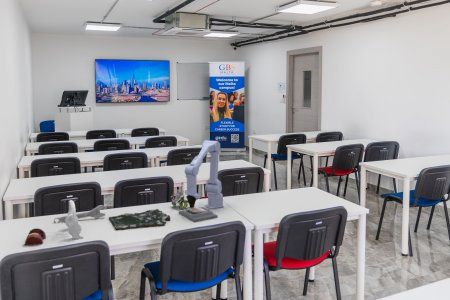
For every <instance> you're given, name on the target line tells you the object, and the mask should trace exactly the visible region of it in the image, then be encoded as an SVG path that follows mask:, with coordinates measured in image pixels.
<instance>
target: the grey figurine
mask: <svg viewBox="0 0 450 300" xmlns="http://www.w3.org/2000/svg"><path fill="white" fill-rule="evenodd" d="M76 210H77V209H76V205H75V201H74V200H71V199H70V200H68V212H67V215H66V216H67V217H66V219H65V222H64V223H65V225H66V227H67V232H68V234H69V235H70V236H71V237H72V239H77V240H82V239H84V236H82V235H80V234H81V232H82V225H81V223H80V222H79V219H78V218H77V216H76V214H77V212H76Z"/></svg>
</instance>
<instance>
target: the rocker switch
mask: <svg viewBox="0 0 450 300" xmlns="http://www.w3.org/2000/svg"><path fill="white" fill-rule="evenodd" d="M187 210H190V211H192V212H198V213H200V212H202V213H203V212H208V211H207V210H205V209H203V208H199V207H194V208H190V206H188V207H187Z"/></svg>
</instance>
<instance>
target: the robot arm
mask: <svg viewBox="0 0 450 300" xmlns="http://www.w3.org/2000/svg"><path fill="white" fill-rule="evenodd" d="M220 153H221V143H220V142H219V140H207V139H205V140H204V141H203V142H202V144H201V149H200V151H199V154H197V155H196V156H194V158H193V159H192V161H191V162H190V164H188V165H186V167H185V169H184V173H185V174H184V175H185V177H186V189H185V190H184V194H185V195H186V196H185V197H186V200H188V202H189V203H188V207H190V208H195V204H196V201H197V200H198V199H200V195H199V193H198V192H197V187H198V186H197V176H198V174H199V171H200V167H201V166H202V164H203V162H204V161H203V159H204V158H205V157H206V155H208V154H210V162H209V165H210V167H209V179H207V180H206V181H205V186H204V190H205V192H206V194H207V204H205V208H208V209H210V210H211V209H212V210H213V209H217V208H223V207H224V195H223V193H222V190H223V185H222V182H221V180H220V179H218V176H219V159H220V158H219V154H220Z"/></svg>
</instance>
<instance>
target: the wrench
mask: <svg viewBox="0 0 450 300" xmlns="http://www.w3.org/2000/svg"><path fill="white" fill-rule="evenodd" d="M102 209H103V210H107V206H105V205H102V204H100V205H97V206H96V207H95V208H92V209H91V210H89V211H85V212H80V213H76V216H77V218H78V220H79V219H83V218H89V217H91V218H94V219H95V220H99V219H100V218H103V217H104V216H106V213H103V212H101V210H102ZM67 216H68V215H63V216H60V217H59V216H58V217H55V218H54V219H53V223H54V224H59V223H60V222H61V223H65V219H66V217H67ZM55 220H58V221H55ZM56 222H58V223H56Z"/></svg>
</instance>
